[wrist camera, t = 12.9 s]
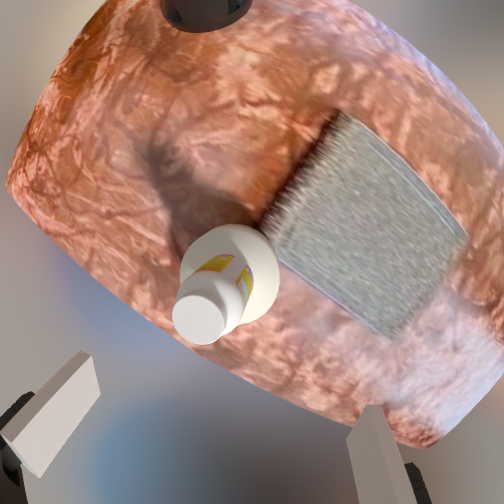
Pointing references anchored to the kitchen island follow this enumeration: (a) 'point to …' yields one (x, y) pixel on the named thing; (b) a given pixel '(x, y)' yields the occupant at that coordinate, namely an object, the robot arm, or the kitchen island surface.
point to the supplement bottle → (213, 299)
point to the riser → (251, 251)
